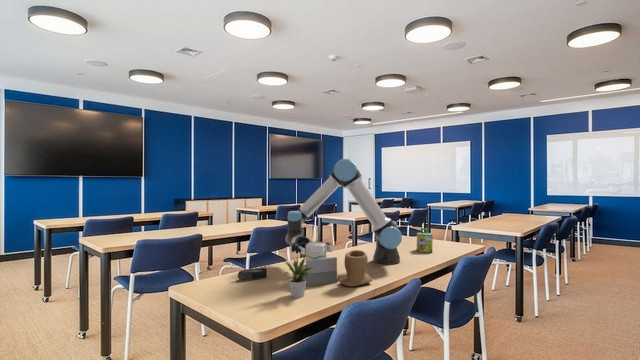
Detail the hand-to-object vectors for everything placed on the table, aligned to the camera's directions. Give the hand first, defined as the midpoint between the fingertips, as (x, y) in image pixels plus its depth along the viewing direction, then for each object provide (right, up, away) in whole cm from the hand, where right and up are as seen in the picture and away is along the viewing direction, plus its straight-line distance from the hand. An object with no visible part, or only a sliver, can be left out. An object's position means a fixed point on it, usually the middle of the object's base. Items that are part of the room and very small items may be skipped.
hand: (318, 250), depth 159 cm
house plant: (-9, -14, -21) cm, 27 cm away
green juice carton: (+69, -14, +66) cm, 96 cm away
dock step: (-1, -14, +2) cm, 14 cm away
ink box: (-1, -9, +3) cm, 9 cm away
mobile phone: (-31, -15, +3) cm, 35 cm away
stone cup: (+18, -14, -5) cm, 23 cm away
